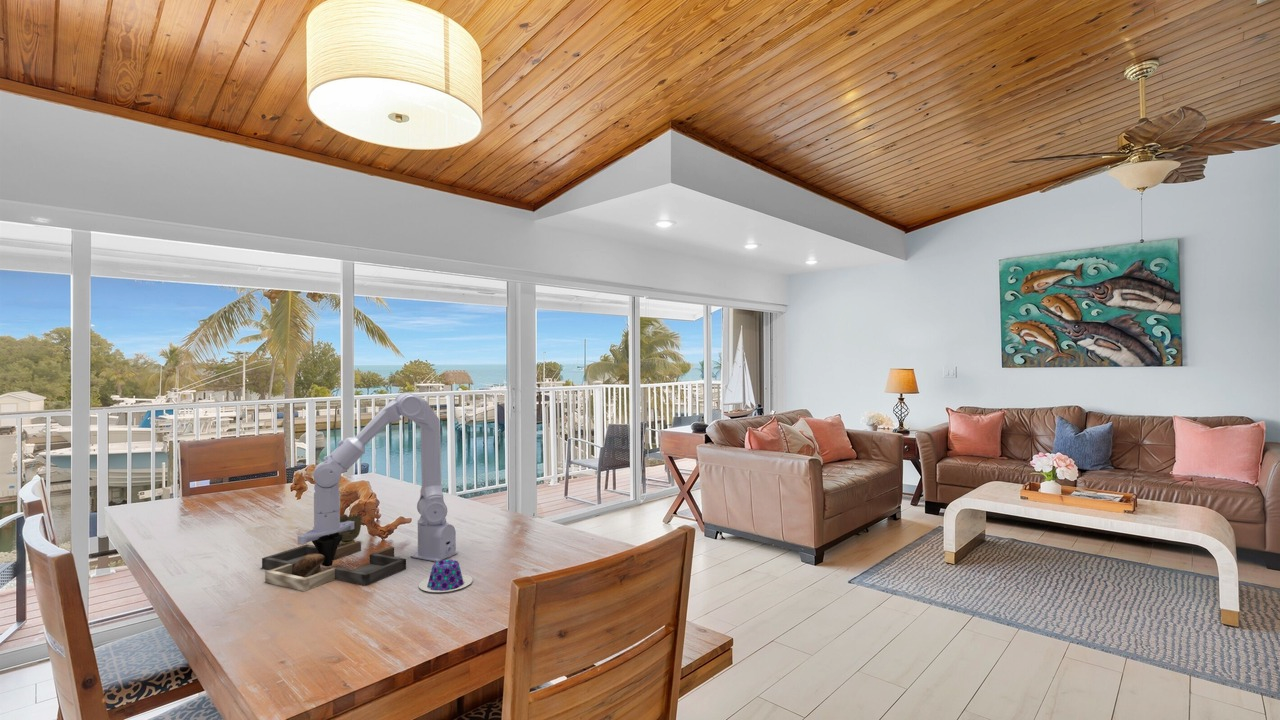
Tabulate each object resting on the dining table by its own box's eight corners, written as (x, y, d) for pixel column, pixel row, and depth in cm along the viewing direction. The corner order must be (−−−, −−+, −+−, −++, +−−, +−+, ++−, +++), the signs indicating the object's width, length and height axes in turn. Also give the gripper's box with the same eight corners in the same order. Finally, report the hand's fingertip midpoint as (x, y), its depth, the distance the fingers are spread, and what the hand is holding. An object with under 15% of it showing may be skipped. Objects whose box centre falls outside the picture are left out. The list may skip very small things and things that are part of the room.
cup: (350, 550, 167) (350, 521, 167) (326, 548, 169) (326, 519, 169) (367, 542, 175) (367, 514, 174) (344, 540, 176) (344, 512, 176)
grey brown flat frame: (423, 561, 158) (423, 552, 158) (335, 598, 134) (335, 586, 134) (332, 545, 171) (332, 536, 171) (237, 576, 147) (237, 565, 147)
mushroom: (339, 561, 148) (322, 542, 147) (314, 584, 141) (296, 564, 140) (322, 571, 152) (305, 552, 151) (297, 594, 145) (279, 575, 144)
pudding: (417, 580, 146) (417, 558, 146) (469, 573, 150) (469, 552, 150) (419, 598, 134) (419, 574, 134) (475, 591, 139) (475, 568, 139)
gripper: (340, 502, 159) (340, 554, 159) (288, 515, 146) (288, 572, 146) (360, 505, 156) (360, 558, 156) (309, 519, 143) (309, 576, 143)
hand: (327, 565), depth 151 cm, fingers closed
